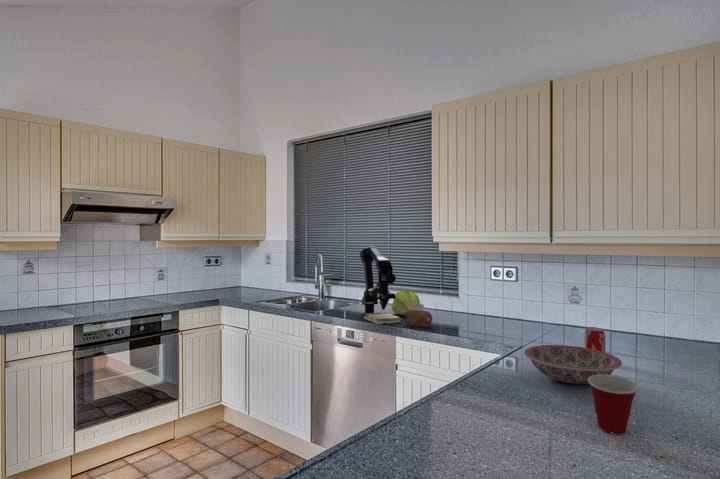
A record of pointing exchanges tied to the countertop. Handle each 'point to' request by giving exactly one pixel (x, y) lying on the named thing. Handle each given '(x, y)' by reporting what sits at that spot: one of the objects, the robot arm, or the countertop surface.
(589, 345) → the soda can
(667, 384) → the countertop surface
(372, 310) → the robot arm
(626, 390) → the plastic cup
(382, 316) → the oak plank
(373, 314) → the underlay board
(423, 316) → the brown rounded block
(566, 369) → the ceramic bowl
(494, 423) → the countertop surface
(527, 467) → the countertop surface
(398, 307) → the lettuce
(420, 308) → the drinking glass
